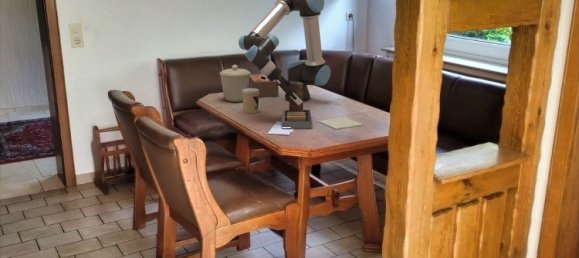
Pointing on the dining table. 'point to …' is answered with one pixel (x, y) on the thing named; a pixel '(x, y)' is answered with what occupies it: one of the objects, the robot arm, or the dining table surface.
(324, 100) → the dining table surface
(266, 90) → the tissue box cover
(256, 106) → the coffee cup
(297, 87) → the dark brown tall cylinder
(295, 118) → the offcut stack
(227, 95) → the canister
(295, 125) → the offcut rack
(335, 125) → the mat
